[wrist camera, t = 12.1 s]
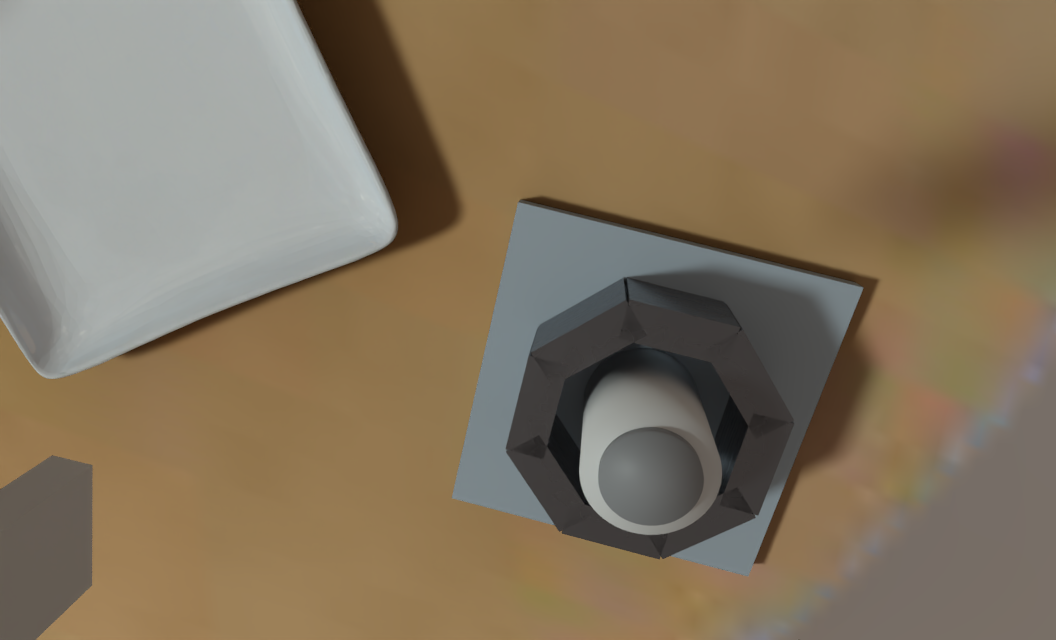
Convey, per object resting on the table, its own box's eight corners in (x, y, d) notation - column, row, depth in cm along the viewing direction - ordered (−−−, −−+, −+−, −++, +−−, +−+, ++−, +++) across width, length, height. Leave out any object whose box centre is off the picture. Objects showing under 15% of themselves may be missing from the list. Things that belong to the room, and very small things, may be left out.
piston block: (520, 199, 32) (492, 228, 24) (855, 282, 31) (942, 340, 23) (456, 488, 37) (413, 593, 29) (744, 564, 36) (784, 693, 28)
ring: (554, 258, 32) (547, 278, 28) (797, 320, 31) (824, 348, 27) (501, 470, 35) (489, 514, 31) (719, 528, 35) (733, 578, 31)
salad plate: (426, 228, 33) (406, 241, 30) (85, 366, 38) (36, 390, 34) (218, -243, 28) (167, -289, 25) (-146, -21, 33) (-229, -36, 29)
